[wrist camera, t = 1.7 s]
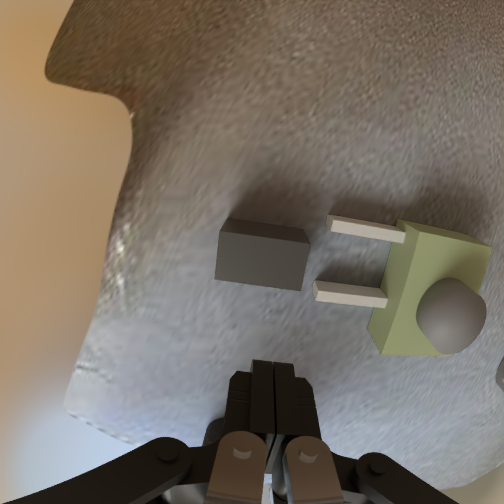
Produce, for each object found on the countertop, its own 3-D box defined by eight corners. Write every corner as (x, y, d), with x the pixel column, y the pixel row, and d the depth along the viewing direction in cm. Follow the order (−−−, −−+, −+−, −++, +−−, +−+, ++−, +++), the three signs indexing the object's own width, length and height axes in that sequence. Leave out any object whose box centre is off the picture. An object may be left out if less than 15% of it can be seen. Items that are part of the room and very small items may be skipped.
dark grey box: (302, 229, 29) (310, 243, 24) (295, 269, 30) (300, 291, 26) (227, 218, 29) (219, 231, 24) (222, 259, 30) (214, 279, 26)
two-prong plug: (465, 234, 28) (514, 259, 20) (433, 332, 32) (467, 375, 24) (329, 206, 28) (353, 227, 20) (304, 322, 32) (315, 374, 24)
